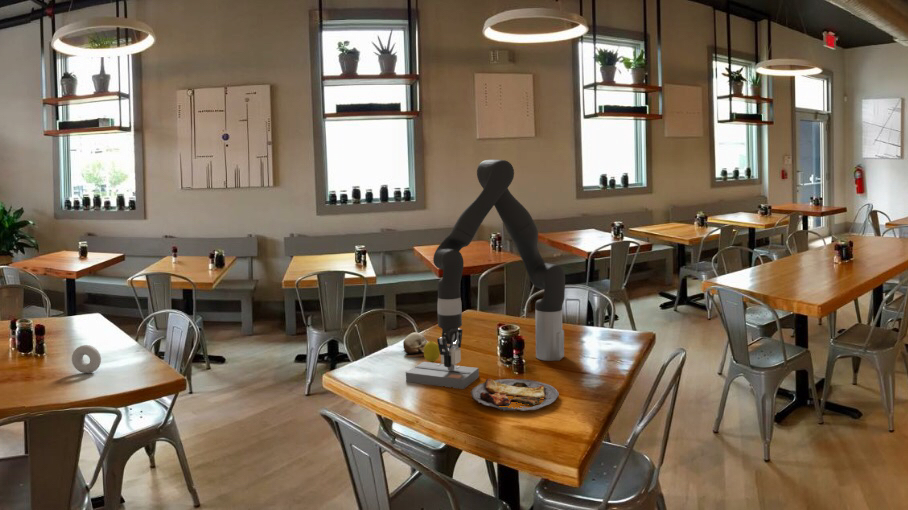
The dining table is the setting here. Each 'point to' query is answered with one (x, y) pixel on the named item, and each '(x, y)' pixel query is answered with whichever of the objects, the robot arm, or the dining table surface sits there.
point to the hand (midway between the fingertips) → (451, 364)
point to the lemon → (431, 351)
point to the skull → (414, 345)
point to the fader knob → (453, 358)
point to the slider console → (442, 375)
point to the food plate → (514, 393)
